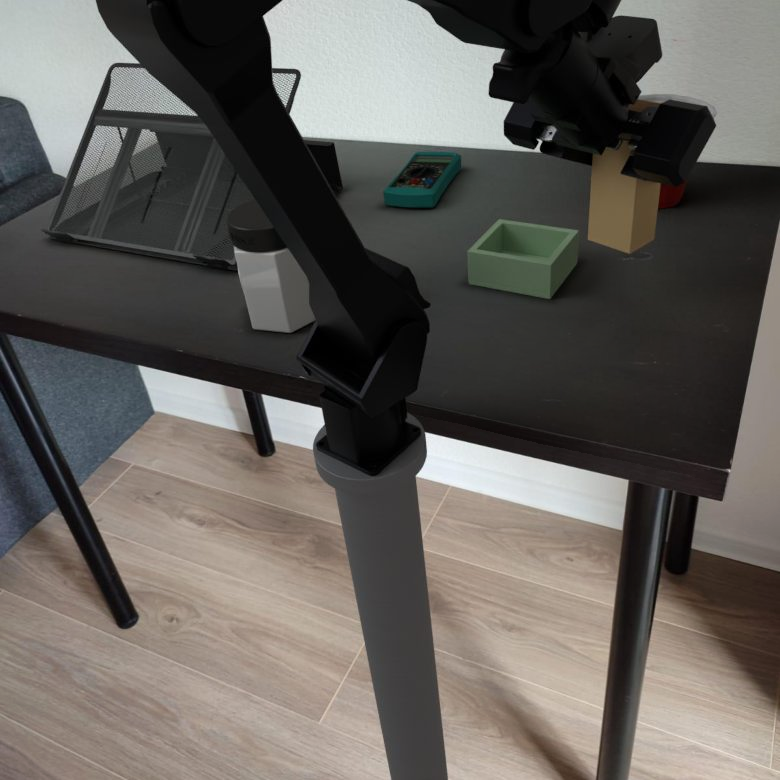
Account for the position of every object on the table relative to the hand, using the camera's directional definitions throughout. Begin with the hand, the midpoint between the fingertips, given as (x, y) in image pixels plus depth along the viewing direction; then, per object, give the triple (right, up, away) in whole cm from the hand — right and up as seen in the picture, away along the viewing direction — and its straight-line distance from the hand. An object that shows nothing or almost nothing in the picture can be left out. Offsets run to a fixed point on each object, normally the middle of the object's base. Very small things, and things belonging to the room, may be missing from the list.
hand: (635, 171), depth 74 cm
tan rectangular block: (0, -6, +3) cm, 7 cm away
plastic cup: (+11, +4, +26) cm, 28 cm away
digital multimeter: (-18, +8, +36) cm, 42 cm away
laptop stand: (-51, +4, +36) cm, 63 cm away
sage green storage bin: (-8, -8, +14) cm, 18 cm away
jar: (-35, -12, +12) cm, 39 cm away
